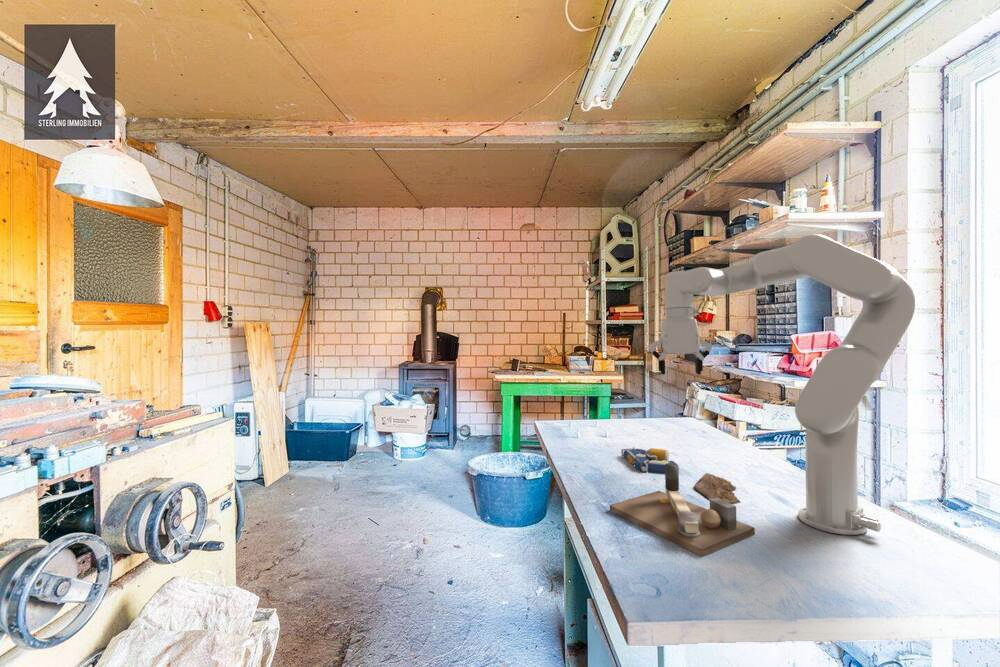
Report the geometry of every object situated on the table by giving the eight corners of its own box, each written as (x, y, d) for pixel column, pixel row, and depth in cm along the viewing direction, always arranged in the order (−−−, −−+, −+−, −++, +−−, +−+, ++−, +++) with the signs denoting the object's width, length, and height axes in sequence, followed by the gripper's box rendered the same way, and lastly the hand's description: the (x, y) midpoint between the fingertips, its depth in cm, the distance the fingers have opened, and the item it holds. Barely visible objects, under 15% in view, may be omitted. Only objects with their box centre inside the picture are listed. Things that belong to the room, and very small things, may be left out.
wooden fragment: (742, 509, 110) (741, 504, 110) (694, 503, 114) (694, 499, 114) (731, 477, 134) (731, 473, 134) (692, 473, 138) (692, 469, 138)
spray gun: (661, 454, 157) (619, 457, 157) (660, 443, 157) (619, 445, 157) (688, 475, 137) (641, 478, 136) (687, 462, 136) (640, 464, 136)
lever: (702, 535, 91) (702, 495, 91) (682, 534, 92) (681, 494, 92) (678, 495, 113) (678, 463, 113) (662, 495, 113) (662, 462, 113)
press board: (754, 534, 96) (754, 504, 96) (702, 556, 87) (701, 524, 87) (659, 496, 119) (658, 472, 119) (609, 510, 110) (609, 485, 110)
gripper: (707, 314, 128) (708, 372, 128) (646, 315, 131) (647, 372, 131) (715, 313, 121) (716, 375, 121) (650, 315, 124) (651, 375, 124)
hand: (680, 373), depth 126 cm, fingers open, 9 cm apart
